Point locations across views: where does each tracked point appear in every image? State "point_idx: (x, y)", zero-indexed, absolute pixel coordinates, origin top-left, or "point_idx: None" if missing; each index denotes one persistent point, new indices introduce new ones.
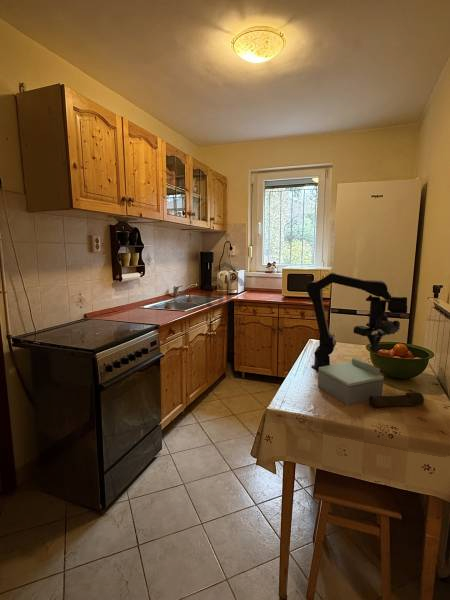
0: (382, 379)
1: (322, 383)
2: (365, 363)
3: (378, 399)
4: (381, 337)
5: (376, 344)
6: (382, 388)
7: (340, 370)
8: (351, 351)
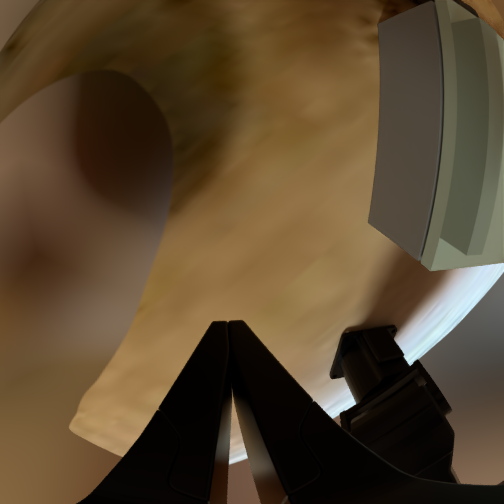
0: (432, 5)
1: None
2: (495, 132)
3: (464, 3)
4: (109, 500)
5: (228, 374)
6: (403, 13)
7: None
8: (117, 423)
